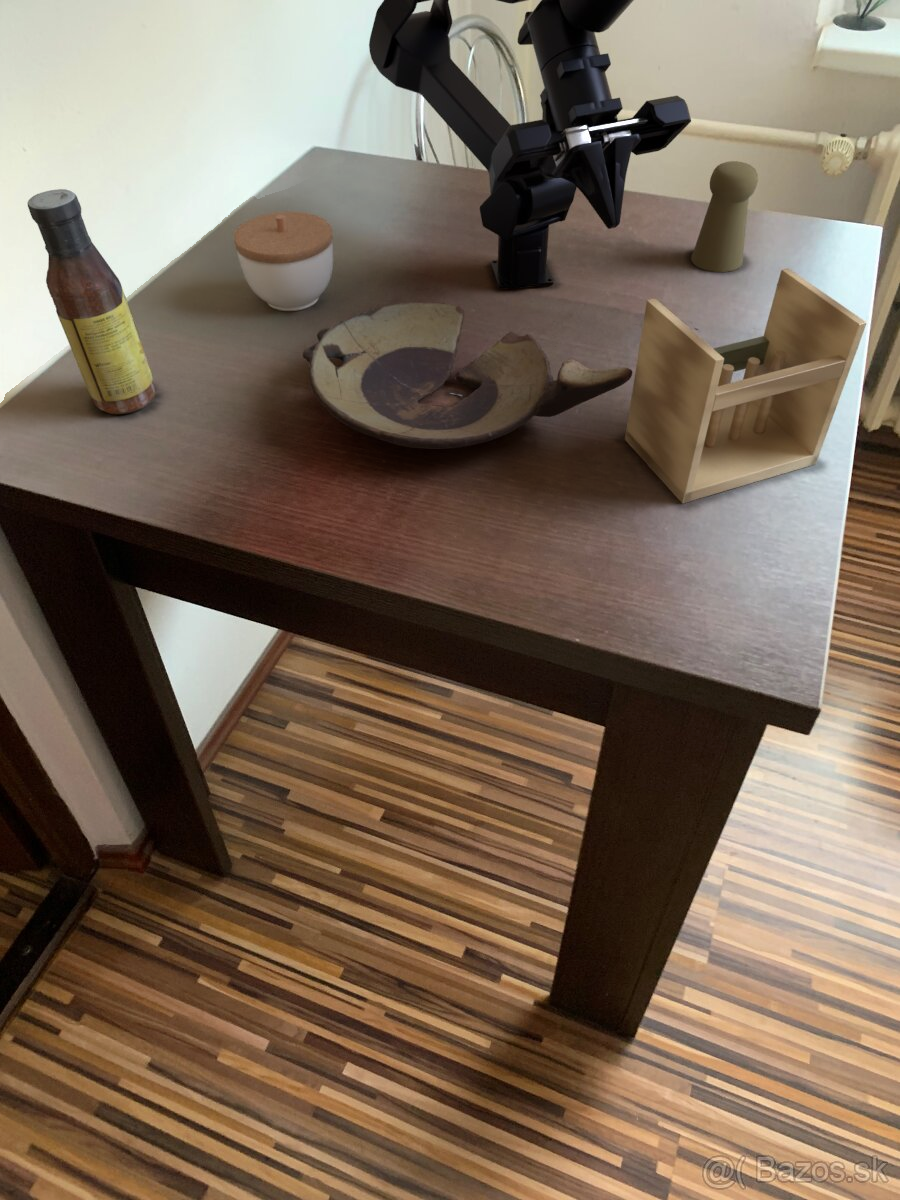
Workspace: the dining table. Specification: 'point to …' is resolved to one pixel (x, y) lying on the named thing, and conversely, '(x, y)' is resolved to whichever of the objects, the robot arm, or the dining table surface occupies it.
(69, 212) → the sauce bottle
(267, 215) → the trinket box
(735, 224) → the olive pawn
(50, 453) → the dining table surface
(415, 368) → the broken clay pan
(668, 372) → the rack
